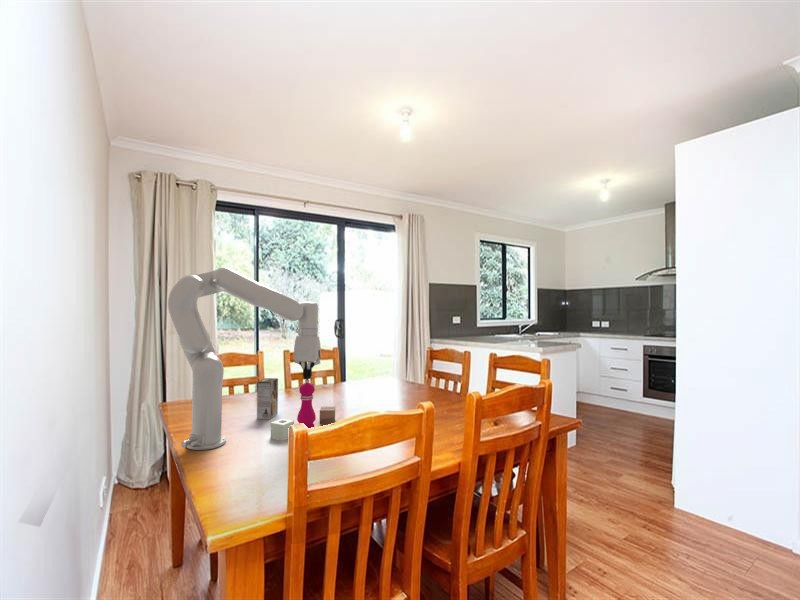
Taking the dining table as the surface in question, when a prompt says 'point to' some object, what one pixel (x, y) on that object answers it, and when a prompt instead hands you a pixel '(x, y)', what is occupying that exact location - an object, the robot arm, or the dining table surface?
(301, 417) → the pepper mill
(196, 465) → the dining table surface
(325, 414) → the walnut cube
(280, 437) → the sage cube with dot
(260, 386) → the coffee box
